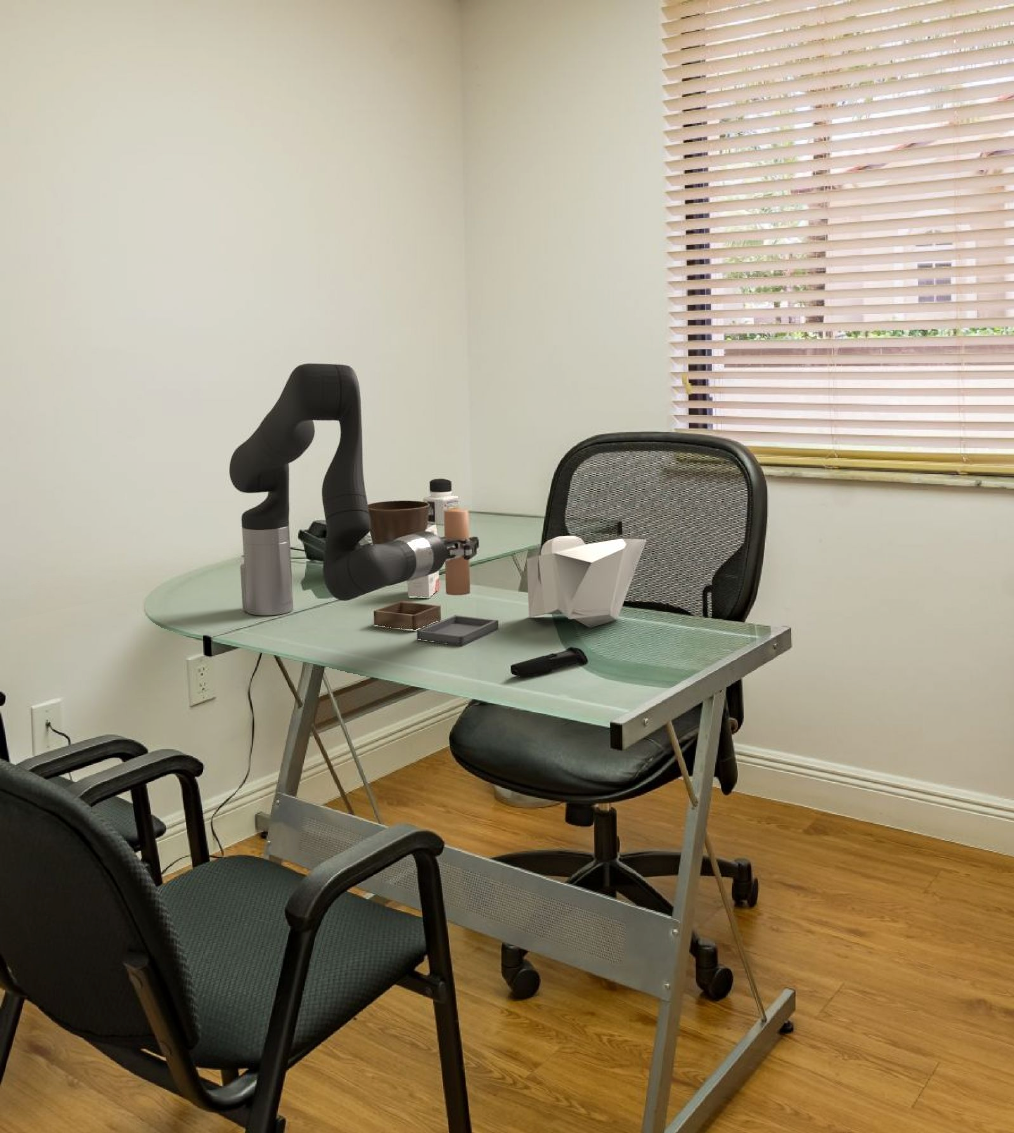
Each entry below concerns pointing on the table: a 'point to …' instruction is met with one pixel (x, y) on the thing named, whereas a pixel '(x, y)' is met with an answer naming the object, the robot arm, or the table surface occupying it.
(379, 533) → the plant pot
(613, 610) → the folded paper
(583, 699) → the table surface
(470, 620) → the desk tray
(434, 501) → the container
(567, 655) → the electric trimmer
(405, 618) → the wooden square frame
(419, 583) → the ink cartridge box
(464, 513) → the dowel
